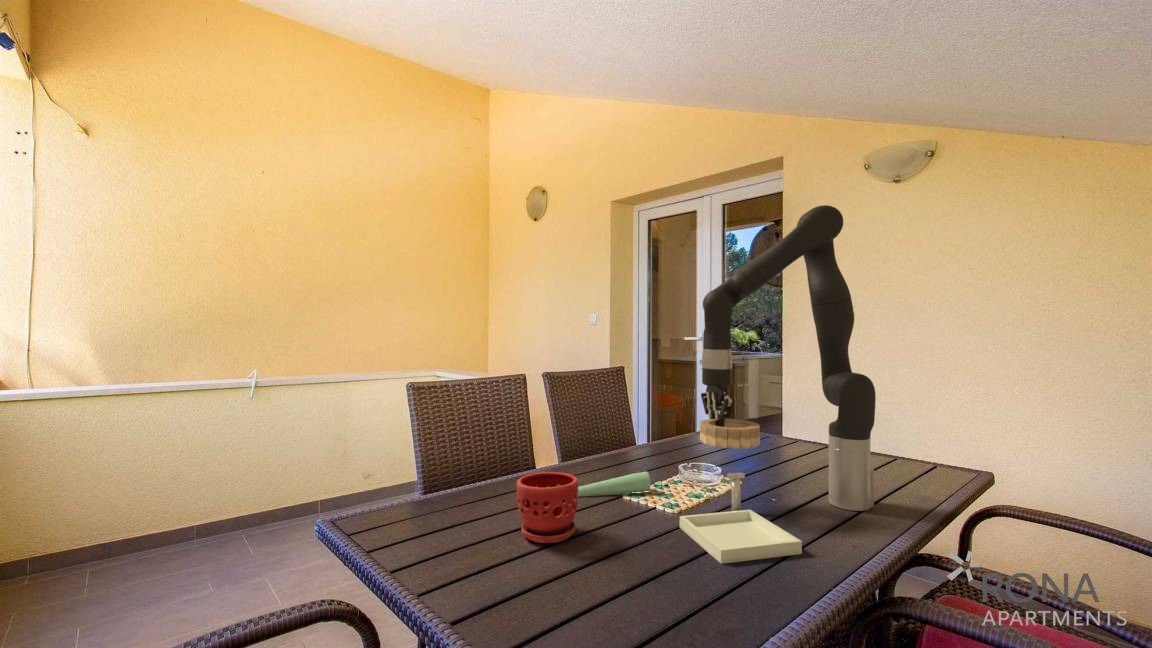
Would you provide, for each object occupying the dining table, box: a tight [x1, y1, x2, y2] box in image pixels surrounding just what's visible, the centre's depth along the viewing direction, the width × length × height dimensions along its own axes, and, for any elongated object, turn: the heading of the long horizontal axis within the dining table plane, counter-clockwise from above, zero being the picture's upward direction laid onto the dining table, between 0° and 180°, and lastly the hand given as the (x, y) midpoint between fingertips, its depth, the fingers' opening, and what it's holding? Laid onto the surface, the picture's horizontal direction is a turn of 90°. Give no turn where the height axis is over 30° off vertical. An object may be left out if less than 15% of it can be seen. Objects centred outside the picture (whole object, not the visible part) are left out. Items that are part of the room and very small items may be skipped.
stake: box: [726, 472, 746, 511], centre depth 122 cm, size 4×2×9 cm, turn 104°
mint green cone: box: [577, 471, 652, 498], centre depth 134 cm, size 5×6×27 cm
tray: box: [679, 509, 803, 564], centre depth 105 cm, size 18×18×2 cm
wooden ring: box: [699, 418, 761, 450], centre depth 125 cm, size 14×14×4 cm
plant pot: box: [516, 471, 579, 544], centre depth 108 cm, size 13×13×12 cm
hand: (717, 433), depth 131 cm, fingers closed on wooden ring, 2 cm apart
